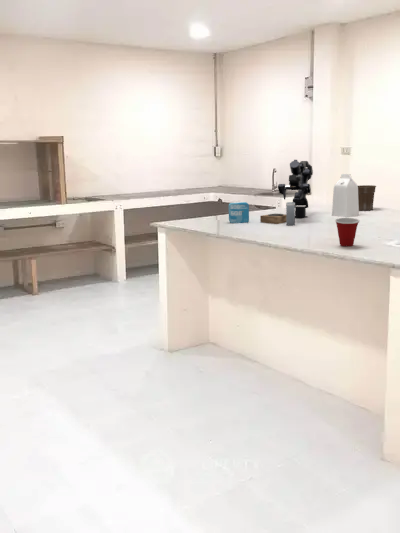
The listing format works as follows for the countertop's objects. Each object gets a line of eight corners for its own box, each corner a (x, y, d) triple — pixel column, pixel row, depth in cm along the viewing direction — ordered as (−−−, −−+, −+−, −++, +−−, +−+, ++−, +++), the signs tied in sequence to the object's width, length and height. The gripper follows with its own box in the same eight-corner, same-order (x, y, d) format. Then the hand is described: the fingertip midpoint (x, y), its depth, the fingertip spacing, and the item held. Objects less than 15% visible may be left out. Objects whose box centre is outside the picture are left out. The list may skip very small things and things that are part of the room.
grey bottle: (290, 224, 332) (290, 201, 329) (296, 224, 328) (296, 202, 325) (284, 225, 329) (284, 202, 326) (290, 226, 325) (290, 203, 322)
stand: (275, 219, 352) (275, 212, 351) (291, 221, 342) (291, 214, 341) (260, 222, 344) (260, 214, 343) (276, 224, 334) (276, 216, 333)
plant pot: (347, 209, 391) (347, 185, 388) (369, 208, 393) (370, 184, 389) (356, 212, 375) (356, 187, 372) (379, 210, 377) (380, 186, 373)
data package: (229, 223, 345) (228, 203, 343) (228, 222, 350) (228, 202, 347) (249, 222, 345) (248, 202, 343) (248, 221, 350) (247, 202, 347)
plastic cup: (338, 248, 254) (339, 221, 251) (331, 244, 264) (331, 218, 262) (362, 247, 254) (363, 220, 252) (354, 242, 265) (354, 217, 262)
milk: (358, 215, 358) (359, 173, 352) (346, 217, 351) (347, 174, 346) (344, 214, 367) (344, 173, 362) (331, 215, 361) (332, 174, 356)
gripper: (278, 170, 338) (274, 190, 330) (310, 169, 331) (306, 189, 323) (281, 183, 347) (277, 202, 339) (312, 182, 340) (308, 202, 332)
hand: (292, 199), depth 333 cm, fingers open, 9 cm apart
